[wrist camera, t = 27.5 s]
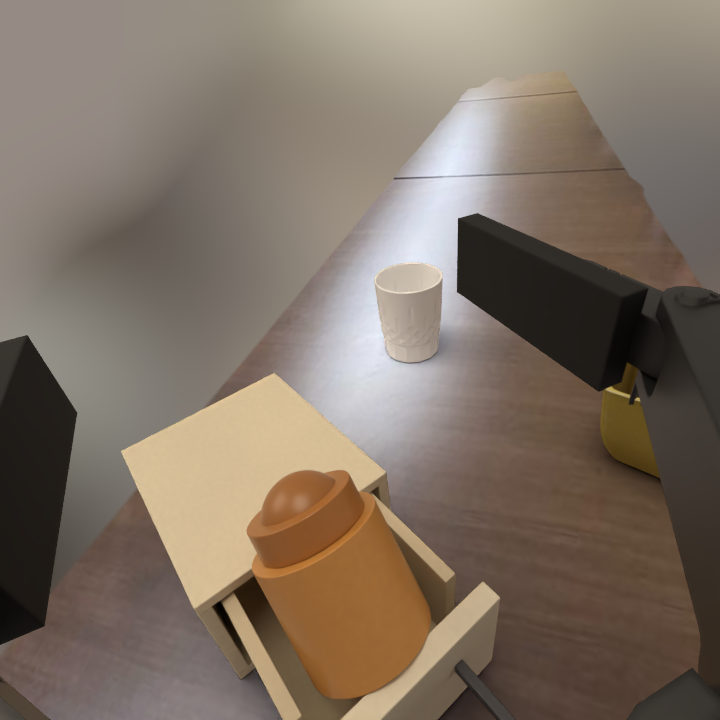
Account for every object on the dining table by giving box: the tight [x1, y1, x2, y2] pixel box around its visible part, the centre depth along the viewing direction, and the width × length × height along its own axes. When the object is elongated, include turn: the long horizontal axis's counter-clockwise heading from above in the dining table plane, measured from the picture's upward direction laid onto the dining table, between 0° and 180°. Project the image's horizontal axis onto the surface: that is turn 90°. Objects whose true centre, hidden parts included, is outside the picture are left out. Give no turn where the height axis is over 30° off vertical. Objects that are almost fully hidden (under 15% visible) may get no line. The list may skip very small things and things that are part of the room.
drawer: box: [221, 492, 516, 720], centre depth 26 cm, size 22×12×8 cm, turn 38°
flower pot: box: [600, 362, 660, 478], centre depth 38 cm, size 9×9×9 cm
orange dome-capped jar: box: [246, 470, 431, 699], centre depth 24 cm, size 7×7×10 cm
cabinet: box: [121, 373, 391, 679], centre depth 35 cm, size 16×14×10 cm
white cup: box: [374, 263, 443, 363], centre depth 56 cm, size 8×8×10 cm
